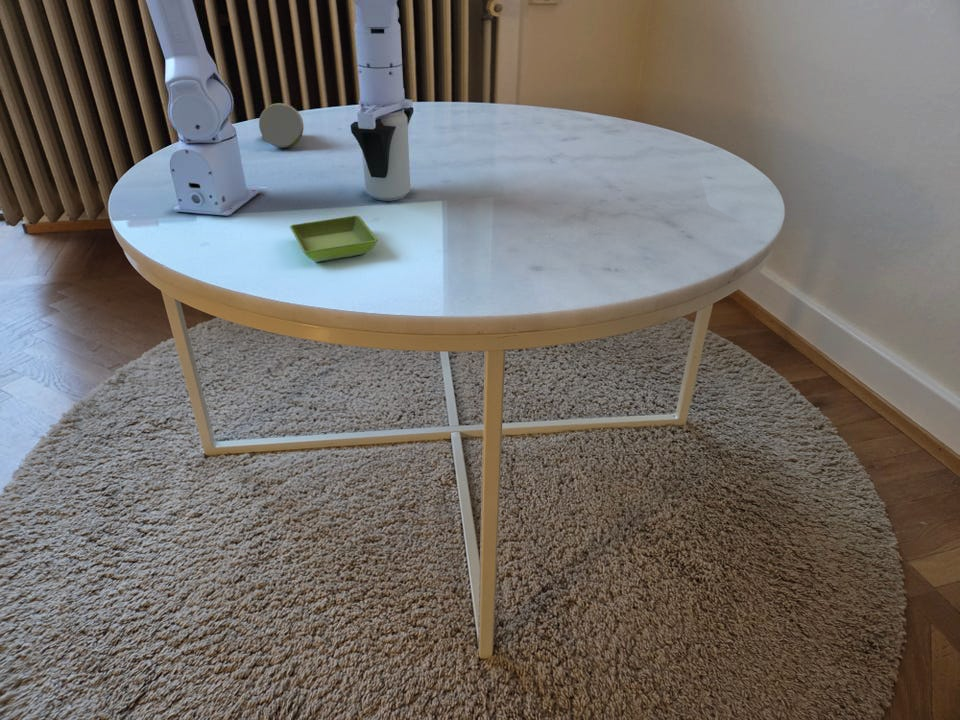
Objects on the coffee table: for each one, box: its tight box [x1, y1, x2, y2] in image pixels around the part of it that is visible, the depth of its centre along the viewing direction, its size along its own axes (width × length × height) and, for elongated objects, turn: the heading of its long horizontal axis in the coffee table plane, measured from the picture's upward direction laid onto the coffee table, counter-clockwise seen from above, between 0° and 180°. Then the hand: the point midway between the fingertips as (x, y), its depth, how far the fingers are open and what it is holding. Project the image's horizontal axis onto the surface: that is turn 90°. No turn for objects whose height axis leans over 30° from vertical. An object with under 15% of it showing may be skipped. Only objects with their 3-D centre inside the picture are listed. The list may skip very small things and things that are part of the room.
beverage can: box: [361, 108, 411, 202], centre depth 93 cm, size 6×6×12 cm
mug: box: [258, 102, 304, 149], centre depth 115 cm, size 8×10×10 cm
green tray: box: [289, 215, 378, 263], centre depth 81 cm, size 9×9×2 cm
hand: (386, 168), depth 95 cm, fingers open, 7 cm apart
